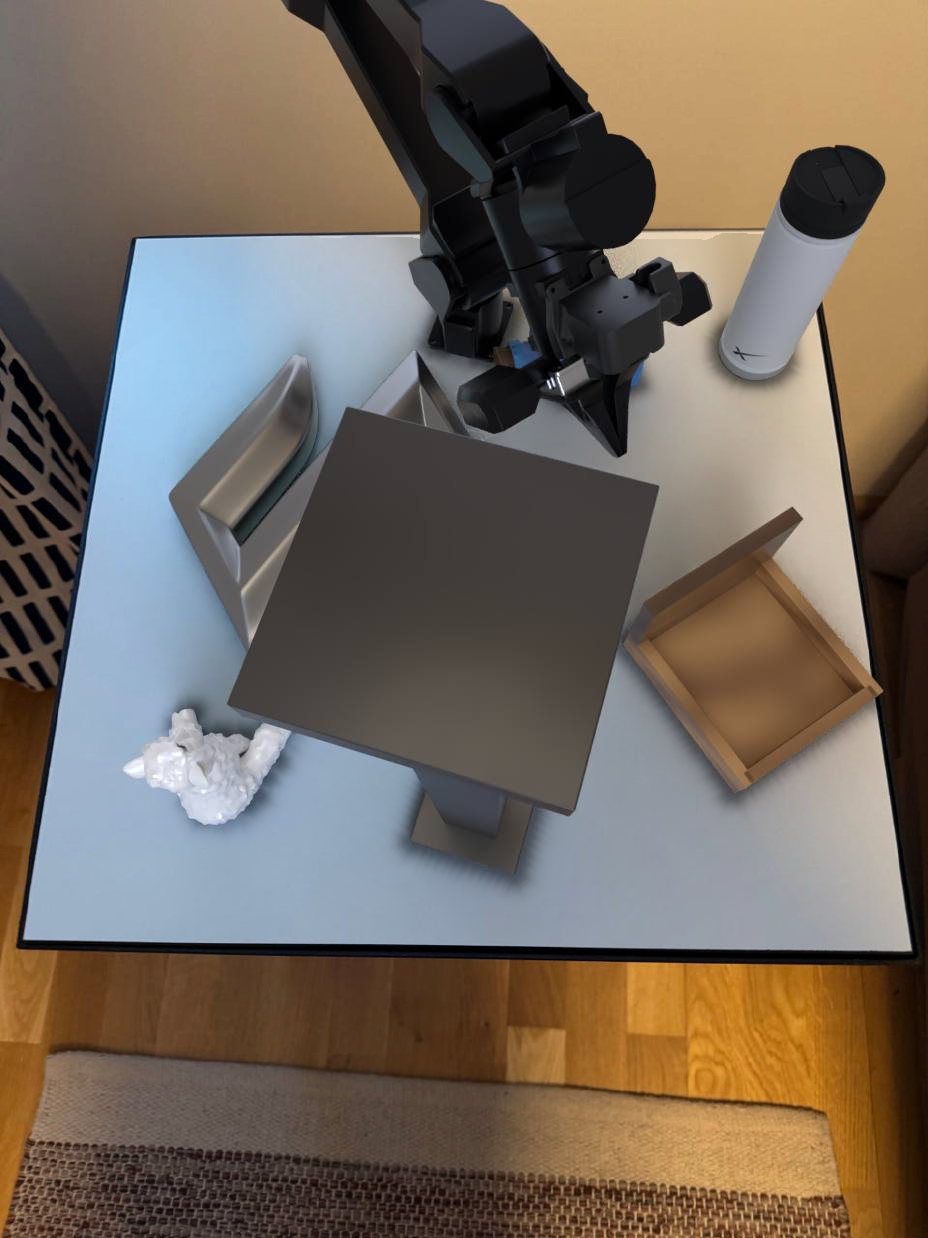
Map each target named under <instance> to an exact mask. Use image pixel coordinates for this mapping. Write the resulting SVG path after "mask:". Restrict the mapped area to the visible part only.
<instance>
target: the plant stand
mask: <svg viewBox="0 0 928 1238" xmlns="http://www.w3.org/2000/svg"><path fill="white" fill-rule="evenodd" d="M333 437H334V439H333V438H332V439H333V441H332V444H331V446H330V449H329V451H328V454H327V456H326V459H325V461H324V464H323V466H322V469H321V471H320V474H319V476H318V479H317V481H316V484H315V486H314V489H313V491H312V493H311V496H310V498H309V501H308V503H307V506H306V508H305V511H304V513H303V516H302V518H301V521H300V523H299V526H298V528H297V531H296V533H295V536H294V538H293V541H292V543H291V546H290V548H289V550H288V553H287V555H286V558H285V560H284V563H283V565H282V568H281V570H280V573H279V575H278V578H277V580H276V583H275V585H274V588H273V590H272V593H271V595H270V598H269V600H268V603H267V605H266V608H265V610H264V612H263V615H262V617H261V620H260V622H259V625H258V627H257V630H256V632H255V635H254V637H253V640H252V642H251V645H250V647H249V650H248V652H247V651H246V655H245V657H244V660H243V662H242V664H241V667H240V670H239V672H238V674H237V677H236V680H235V682H234V684H233V687H232V689H231V692H230V694H229V697H228V700H227V702H226V705H227V706H228V707H229V708H230V709H232V711H234V712H235V713H237V714H238V715H240V716H242V718H247V719H249V720H253V721H255V722H259V723H262V724H263V723H266V724H269V725H272V726H276V727H279V728H282V729H285V730H289V731H292V733H295V734H299V735H301V736H305V737H308V738H312V739H315V740H318V741H322V742H325V743H328V744H331V745H334V746H338V747H340V748H344V749H348V750H351V751H355V752H358V753H360V754H364V755H366V756H370V757H374V758H377V759H380V760H383V761H385V762H386V761H387V762H390V763H392V764H396V765H399V766H402V767H406V768H409V769H412V770H413V772H414V773H415V775H416V777H417V779H418V780H419V782H420V784H421V785H422V787H423V789H424V793H423V797H422V800H421V804H420V807H419V810H418V813H417V816H416V819H415V821H414V825H413V828H412V832H411V835H410V838H409V842H410V843H411V844H414V845H416V846H417V845H418V846H419V847H424V848H427V849H430V850H433V851H436V852H440V853H443V854H444V855H445V854H446V855H449V856H451V857H455V858H458V859H461V860H464V861H467V862H470V863H471V862H472V863H474V864H478V865H480V866H483V867H485V868H486V867H487V868H490V869H492V870H496V871H499V872H502V873H505V874H508V875H511V876H515V875H516V871H517V868H518V864H519V862H520V857H521V854H522V850H523V846H524V843H525V839H526V836H527V831H528V829H529V825H530V821H531V817H532V814H533V810H534V807H537V808H540V809H543V810H546V811H549V812H552V813H556V814H559V815H563V816H565V817H571V816H572V815H573V814H574V812H576V810H577V807H578V803H579V798H580V796H581V791H582V788H583V784H584V780H585V775H586V771H587V768H588V764H589V760H590V757H591V754H592V753H591V752H592V749H593V745H594V742H595V737H596V735H597V730H598V726H599V723H600V718H601V715H602V710H603V707H604V703H605V698H606V696H607V691H608V687H609V683H610V680H611V676H612V672H613V668H614V664H615V661H616V656H617V653H618V649H619V645H620V641H621V637H622V633H623V630H624V626H625V622H626V618H627V615H628V611H629V607H630V603H631V600H632V595H633V591H634V589H635V588H634V587H635V585H636V579H637V576H638V573H639V569H640V566H641V565H640V564H641V560H642V558H643V553H644V549H645V546H646V542H647V538H648V533H649V530H650V526H651V524H652V523H651V522H652V518H653V515H654V511H655V508H656V503H657V499H658V495H659V493H660V492H659V491H660V485H658V484H655V483H651V482H647V481H643V480H639V479H635V478H631V477H627V476H623V475H621V474H620V475H619V474H617V473H616V474H615V473H613V472H608V471H603V470H600V469H596V468H592V467H588V466H584V465H580V464H576V463H572V462H568V461H564V460H561V459H557V458H553V457H549V456H546V455H541V454H537V453H533V452H529V451H525V450H522V449H517V448H513V447H510V446H506V445H502V444H498V443H494V442H491V441H487V440H482V439H478V438H474V437H472V436H471V437H467V436H463V435H459V434H455V433H451V432H447V431H443V430H439V429H435V428H432V427H428V426H424V425H420V424H416V423H412V422H408V421H404V420H400V419H396V418H392V417H388V416H384V415H380V414H377V413H373V412H369V411H365V410H361V409H359V408H357V407H353V406H348V405H347V406H346V407H345V409H344V412H343V414H342V417H341V419H340V422H339V424H338V427H337V429H336V432H335V434H334V436H333Z"/></svg>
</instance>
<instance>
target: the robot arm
mask: <svg viewBox="0 0 928 1238" xmlns="http://www.w3.org/2000/svg"><path fill="white" fill-rule="evenodd" d="M280 1H281V3H282V4H283V6H284V7H285V9H286V11H288V13H289V14H292V15H293V16H295V17H296V18H298V19H300V20H302V21H303V22H304V23H307V24H309V25H310V26H312V27H314V28H316V29H317V30H318V31H320V32H322V33H323V34H324V36H325V37H326V39H327V41H328V42H329V44H330V46H331V48H332V50H333V52H334V53H335V56H336V57H337V59H338V61H339V62H340V65H341V66H342V68H343V70H344V72H345V74H346V76H347V77H348V79H349V81H350V83H351V84H352V86H353V89H354V90H355V92H356V94H357V96H358V98H359V99H360V101H361V102H362V104H363V107H364V108H365V110H366V112H367V114H368V115H369V117H370V119H371V121H372V123H373V125H374V127H375V128H376V130H377V132H378V134H379V136H380V137H381V139H382V141H383V143H384V145H385V147H386V148H387V150H388V152H389V154H390V155H391V157H392V159H393V162H394V163H395V165H396V166H397V169H398V170H399V173H400V174H401V175H402V178H403V179H404V181H405V183H406V185H407V187H408V188H409V190H410V192H411V195H412V196H413V197H414V200H415V201H416V204H417V205H418V207H419V251H420V254H421V255H420V256H417V257H416V258H414V259H412V260H411V261H409V262H408V263H407V265H408V268H409V272H410V275H411V279H412V281H413V285H414V286H415V287H416V289H417V291H419V293H420V294H421V295H422V296H423V298H424V299H425V300H426V301H427V303H428V305H429V306H430V307H431V309H433V311H434V312H435V313H436V314H437V315H436V318H435V320H434V323H433V326H432V328H431V331H430V333H429V336H428V338H427V345H428V347H429V348H430V349H432V350H433V349H434V350H437V351H442V352H446V353H447V354H450V355H454V356H455V355H456V356H459V357H464V358H467V359H475V360H478V361H481V362H482V361H483V362H487V363H491V364H493V363H494V356H493V348H494V347H503V346H502V345H503V343H504V340H505V337H506V335H507V331H508V328H509V326H510V322H511V320H512V317H513V314H514V311H515V305H514V303H513V301H509V300H504V290H505V289H507V290H508V293H509V295H510V297H511V298H518V300H519V304H520V306H521V308H522V310H523V314H524V316H525V318H526V321H527V324H528V326H529V330H530V329H531V332H532V334H533V335H532V336H530V337H529V336H528V337H526V339H527V340H526V341H528V342H529V345H530V347H531V350H532V351H535V352H539V353H540V355H541V357H539V358H537V359H535V360H534V361H532V362H530V363H529V364H527V365H525V366H523V367H522V368H515V367H510V366H504V365H499V364H498V365H496V366H495V365H494V366H493V367H491V368H488V369H487V370H485V371H484V372H482V373H480V374H479V375H477V376H475V377H473V378H472V379H470V380H468V381H466V382H464V383H463V384H461V385H459V386H458V389H457V390H458V391H457V394H456V406H457V407H458V409H459V411H460V415H461V416H462V418H463V421H464V423H465V425H468V426H470V427H473V428H476V429H478V430H481V431H483V432H485V433H486V432H487V433H489V434H491V435H497V434H500V433H503V432H505V431H507V430H510V429H511V428H512V427H514V426H516V425H517V424H520V423H521V422H522V421H524V420H526V419H527V418H530V417H531V416H532V415H535V414H536V411H537V409H538V406H539V403H540V400H545V401H548V402H552V403H553V402H554V403H557V404H559V405H560V406H561V407H563V408H564V409H565V410H566V411H567V412H568V413H570V414H571V415H572V416H573V417H574V418H575V419H576V420H577V421H578V422H579V423H580V424H581V425H582V426H583V427H584V428H585V429H586V430H587V431H588V432H589V434H590V435H592V437H593V438H594V439H595V440H596V441H597V442H598V443H599V444H600V445H601V446H602V447H603V448H604V450H606V451H607V453H608V454H610V455H611V457H614V458H616V459H619V458H621V457H623V456H624V455H626V454H627V453H628V442H629V441H628V440H629V406H630V395H631V388H632V387H631V382H632V378H633V376H634V374H635V373H636V371H637V369H638V367H639V366H640V364H641V363H642V362H643V361H644V362H645V361H647V360H648V359H649V358H650V355H651V354H655V353H657V352H658V351H660V350H661V349H662V348H663V347H664V346H665V344H666V340H665V339H666V338H665V328H664V323H665V322H667V323H670V324H672V325H674V326H676V327H684V326H685V325H687V324H689V323H691V322H692V321H695V320H696V319H698V318H699V317H701V316H703V315H704V314H707V313H708V312H710V311H712V309H713V306H714V305H713V302H712V298H711V294H710V290H709V287H708V283H707V282H706V281H705V280H704V279H703V278H702V277H701V276H700V275H699V274H697V273H696V272H694V271H676V270H675V267H674V264H673V262H672V261H670V260H667V259H666V258H664V257H662V256H657V257H655V258H653V259H652V260H650V261H649V262H646V263H645V264H643V265H641V266H639V267H638V268H637V269H636V270H635V272H631V273H629V274H627V275H625V276H624V277H622V278H619V277H618V275H617V274H616V273H615V271H614V270H613V269H612V266H611V263H610V260H609V258H608V256H607V255H606V254H605V251H604V250H613V249H617V248H621V247H624V246H626V245H628V244H630V243H631V242H633V241H634V240H636V238H637V237H639V235H641V234H642V233H643V231H644V229H645V228H646V226H648V223H649V221H650V219H651V216H652V214H653V212H654V207H655V203H656V198H657V180H656V174H655V169H654V167H653V163H652V161H651V160H650V158H648V157H647V156H646V154H645V153H644V151H643V149H641V147H640V146H639V145H637V143H636V142H634V140H632V139H630V138H628V137H626V136H624V135H622V134H617V133H609V132H608V128H607V125H606V122H605V119H604V116H603V115H604V114H603V113H601V111H600V110H597V111H596V110H595V108H594V107H593V106H592V105H591V103H590V102H589V94H588V92H587V91H586V90H585V89H584V88H583V87H582V86H580V84H578V83H577V82H576V80H574V79H573V77H571V75H569V74H568V73H567V72H566V70H565V68H564V67H563V66H562V65H561V64H560V62H559V61H558V60H557V58H556V57H555V56H554V54H553V53H552V52H551V51H550V49H549V48H548V47H547V46H546V44H545V43H544V42H543V41H542V40H541V39H540V37H539V36H538V35H536V33H535V32H534V31H533V30H532V29H531V28H530V27H529V26H528V25H526V24H525V23H524V22H523V21H522V20H521V19H520V18H519V17H518V16H517V15H516V14H515V13H513V12H512V11H511V10H510V9H509V8H508V7H507V6H505V5H503V4H500V3H497V2H493V1H489V0H280ZM491 356H492V357H491ZM560 359H563V361H561V362H560Z"/></svg>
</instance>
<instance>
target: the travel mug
mask: <svg viewBox="0 0 928 1238" xmlns="http://www.w3.org/2000/svg"><path fill="white" fill-rule="evenodd" d="M886 180H887V178H886V172H885V170H884V167H883V165H882V164H881V162H879V160H878V159H877V158H876V157H875V156H873V155H872V154H871V153H869V152H867V151H865V150H863V149H861V148H858V147H856V146H852V145H849V144H835V145H834V146H830V145H829V146H821V147H817V148H816V147H815V148H813V149H807V150H806V151H804V152H801V153H799V155H797V157H796V158H795V159H794V161H793V163H792V165H791V167H790V170H789V173H788V175H787V177H786V180H785V183H784V184H783V187H782V188H781V190H780V193H779V194H778V197H777V200H776V202H775V204H774V207H773V210H772V211H771V214H770V216H769V219H768V222H767V224H766V227H765V228H764V232H763V234H762V236H761V239H760V241H759V244H758V246H757V248H756V251H755V254H754V255H753V258H752V260H751V263H750V266H749V268H748V270H747V273H746V275H745V277H744V280H743V283H742V285H741V287H740V289H739V292H738V295H737V297H736V299H735V302H734V304H733V306H732V309H731V312H730V314H729V317H728V319H727V321H726V324H725V326H724V329H723V331H722V334H721V335H720V339H719V342H718V353H719V354H718V355H719V357H720V359H721V362H722V363H723V364H724V366H725V367H726V368H727V369H728V370H729V371H730V372H731V373H732V374H734V375H735V376H737V377H740V378H742V379H745V380H750V381H763V380H767V379H771V378H774V377H775V376H778V375H779V374H781V372H783V370H784V369H785V368H786V367H787V365H788V363H789V361H790V359H791V358H792V356H793V354H794V353H795V350H796V349H797V347H798V345H799V343H800V341H801V339H802V338H803V336H804V334H805V333H806V331H807V329H808V327H809V325H810V323H811V322H812V320H813V318H814V316H815V314H816V312H817V311H818V309H819V307H820V306H821V304H822V302H823V300H824V298H825V296H826V294H827V292H828V291H829V289H830V288H831V285H832V283H833V282H834V280H835V278H836V276H837V275H838V272H839V271H840V270H841V268H842V266H843V264H844V261H845V260H846V258H847V257H848V255H849V253H850V252H851V250H852V247H853V246H854V244H855V242H856V240H857V238H858V237H859V235H860V233H861V231H862V229H863V228H864V226H865V224H866V222H867V220H868V218H869V215H870V213H871V212H872V210H873V209H874V206H875V205H876V203H877V201H878V199H879V197H880V195H881V193H882V192H883V190H884V188H885V186H886V182H887V181H886Z"/></svg>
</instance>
